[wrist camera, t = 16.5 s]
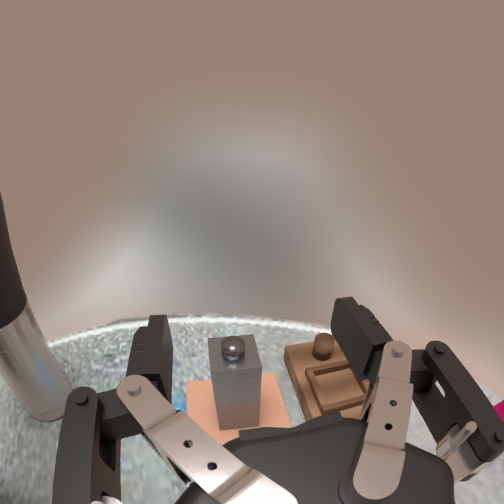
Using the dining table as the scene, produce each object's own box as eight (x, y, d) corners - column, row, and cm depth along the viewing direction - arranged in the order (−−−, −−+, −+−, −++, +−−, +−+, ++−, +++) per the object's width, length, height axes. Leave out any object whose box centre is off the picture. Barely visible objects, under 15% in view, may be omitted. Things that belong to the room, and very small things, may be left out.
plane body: (392, 443, 28) (410, 420, 26) (323, 467, 27) (334, 447, 24) (340, 349, 46) (346, 322, 44) (283, 359, 45) (286, 331, 42)
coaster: (296, 448, 30) (297, 445, 29) (191, 462, 28) (189, 459, 27) (273, 376, 41) (274, 372, 41) (187, 385, 39) (186, 381, 39)
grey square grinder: (259, 426, 32) (262, 358, 26) (219, 430, 31) (209, 363, 26) (252, 397, 36) (253, 325, 31) (216, 400, 36) (206, 330, 30)
